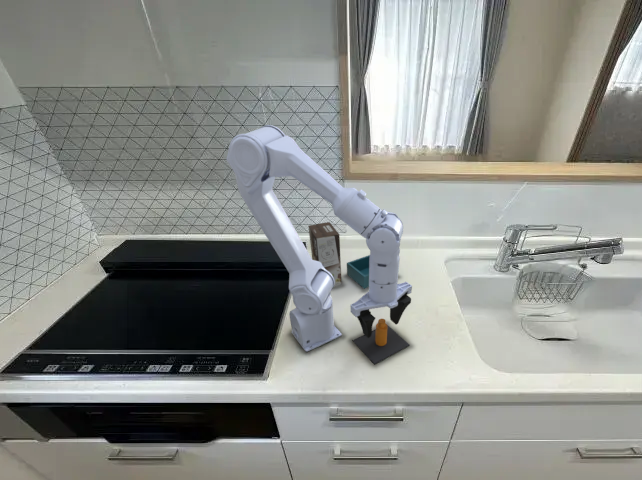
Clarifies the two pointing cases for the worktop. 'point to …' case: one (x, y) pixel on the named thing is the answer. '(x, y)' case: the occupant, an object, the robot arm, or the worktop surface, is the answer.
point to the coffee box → (326, 248)
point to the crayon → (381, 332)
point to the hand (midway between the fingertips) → (380, 328)
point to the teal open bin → (359, 271)
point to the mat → (380, 352)
